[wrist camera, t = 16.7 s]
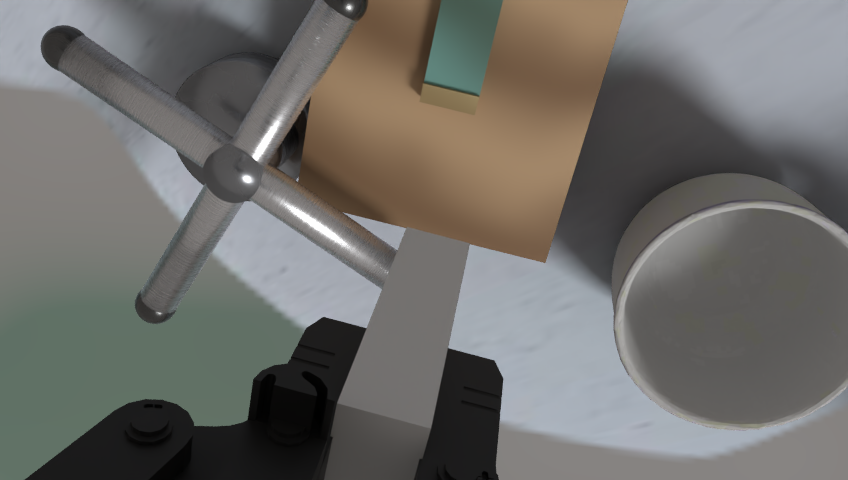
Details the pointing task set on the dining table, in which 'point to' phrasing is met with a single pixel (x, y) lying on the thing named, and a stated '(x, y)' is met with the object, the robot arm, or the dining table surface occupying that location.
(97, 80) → the capstan
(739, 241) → the teacup
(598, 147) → the dining table surface
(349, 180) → the stand
